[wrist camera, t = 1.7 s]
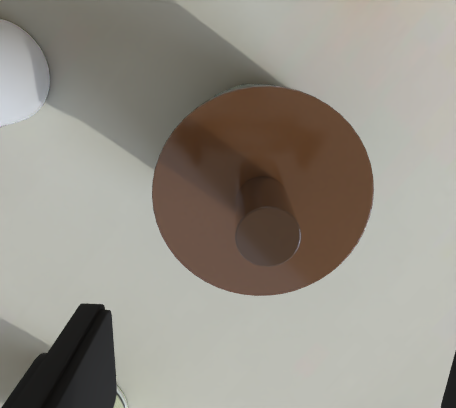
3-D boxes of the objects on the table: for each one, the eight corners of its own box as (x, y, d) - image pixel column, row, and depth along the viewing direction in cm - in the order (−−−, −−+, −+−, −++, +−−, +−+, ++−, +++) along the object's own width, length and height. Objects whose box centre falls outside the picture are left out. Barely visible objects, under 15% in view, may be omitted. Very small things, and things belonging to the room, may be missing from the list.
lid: (152, 80, 22) (121, 88, 16) (384, 89, 22) (437, 99, 16) (158, 281, 26) (135, 345, 20) (351, 290, 26) (384, 356, 20)
